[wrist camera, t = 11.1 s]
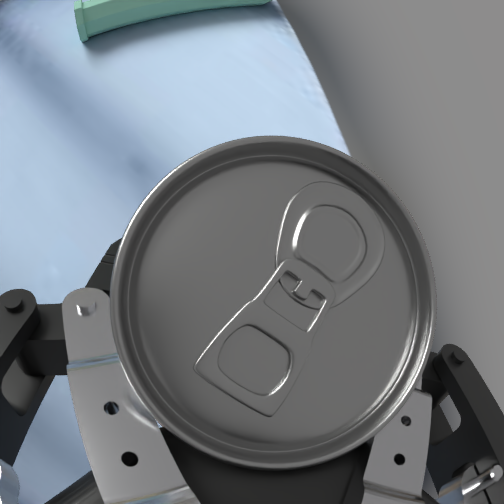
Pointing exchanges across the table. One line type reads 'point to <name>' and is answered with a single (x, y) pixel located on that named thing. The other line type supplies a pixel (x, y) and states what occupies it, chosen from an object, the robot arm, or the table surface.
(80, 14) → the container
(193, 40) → the table surface
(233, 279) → the can
